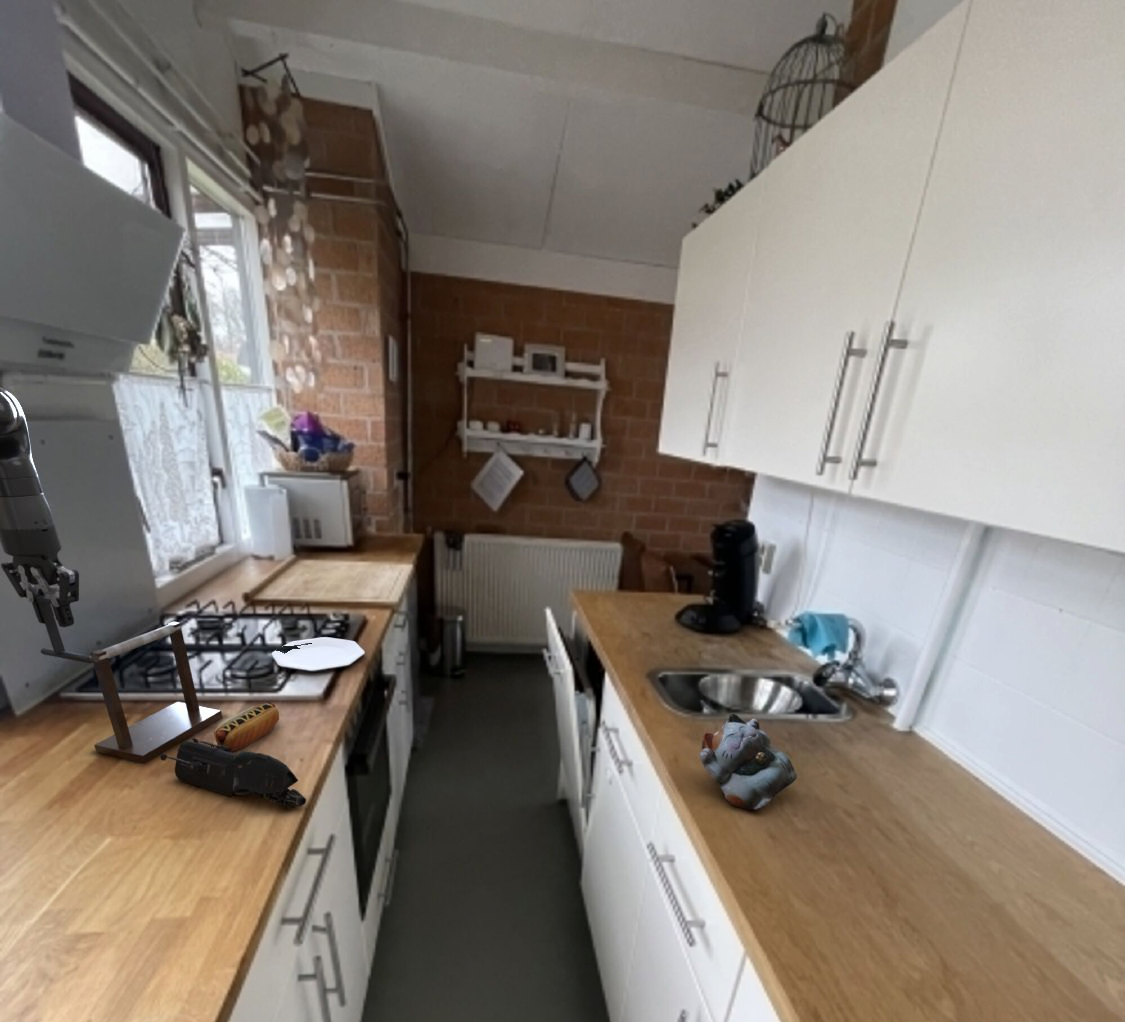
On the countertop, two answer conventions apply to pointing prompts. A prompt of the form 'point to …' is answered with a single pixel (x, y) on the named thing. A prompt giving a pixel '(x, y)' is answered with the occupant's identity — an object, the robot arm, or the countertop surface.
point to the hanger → (55, 633)
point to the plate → (319, 654)
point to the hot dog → (247, 726)
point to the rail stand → (162, 726)
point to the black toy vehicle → (235, 772)
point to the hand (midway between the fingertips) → (57, 623)
